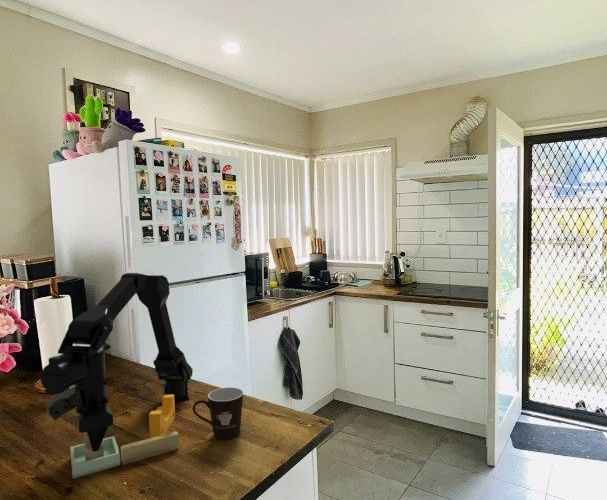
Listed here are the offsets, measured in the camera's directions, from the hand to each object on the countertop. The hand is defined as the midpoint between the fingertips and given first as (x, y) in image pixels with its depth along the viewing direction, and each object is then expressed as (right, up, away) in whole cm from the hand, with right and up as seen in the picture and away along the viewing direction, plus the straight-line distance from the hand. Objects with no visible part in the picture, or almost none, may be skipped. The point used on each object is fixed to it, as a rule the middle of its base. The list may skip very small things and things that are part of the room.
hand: (94, 444), depth 92 cm
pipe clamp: (+9, -3, +15) cm, 18 cm away
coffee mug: (+26, -3, +12) cm, 28 cm away
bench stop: (+12, -3, +2) cm, 12 cm away
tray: (0, -4, 0) cm, 4 cm away
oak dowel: (0, -3, 0) cm, 3 cm away
